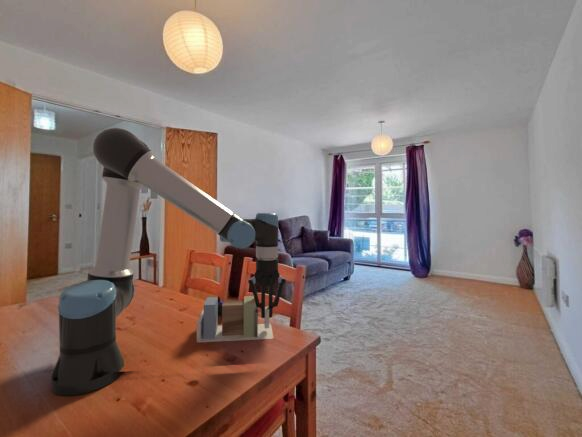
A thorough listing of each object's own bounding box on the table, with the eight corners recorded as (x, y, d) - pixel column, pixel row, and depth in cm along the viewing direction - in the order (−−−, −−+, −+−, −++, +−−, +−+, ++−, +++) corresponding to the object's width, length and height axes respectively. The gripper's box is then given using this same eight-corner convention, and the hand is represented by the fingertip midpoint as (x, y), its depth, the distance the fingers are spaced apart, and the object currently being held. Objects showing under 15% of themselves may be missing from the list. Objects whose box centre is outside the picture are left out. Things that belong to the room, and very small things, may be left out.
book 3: (254, 336, 93) (254, 303, 93) (243, 337, 93) (243, 303, 92) (254, 326, 101) (254, 295, 101) (244, 327, 101) (244, 296, 100)
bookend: (257, 336, 93) (257, 312, 93) (254, 337, 93) (254, 312, 93) (256, 325, 102) (257, 303, 102) (254, 325, 102) (254, 303, 101)
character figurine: (218, 311, 120) (243, 321, 111) (203, 315, 114) (228, 325, 105) (219, 293, 120) (244, 300, 111) (205, 296, 114) (230, 304, 105)
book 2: (243, 334, 95) (243, 304, 94) (222, 335, 94) (222, 305, 93) (244, 328, 99) (244, 300, 99) (223, 329, 98) (223, 301, 98)
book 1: (214, 338, 92) (214, 304, 91) (203, 339, 91) (203, 305, 91) (217, 328, 99) (217, 296, 99) (207, 328, 99) (207, 297, 99)
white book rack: (273, 343, 92) (273, 320, 92) (196, 347, 89) (196, 323, 89) (270, 327, 104) (271, 307, 104) (202, 330, 101) (203, 309, 100)
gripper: (284, 256, 101) (284, 321, 102) (247, 256, 100) (247, 323, 101) (287, 259, 94) (286, 330, 95) (247, 260, 92) (247, 332, 93)
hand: (266, 326), depth 98 cm, fingers closed
